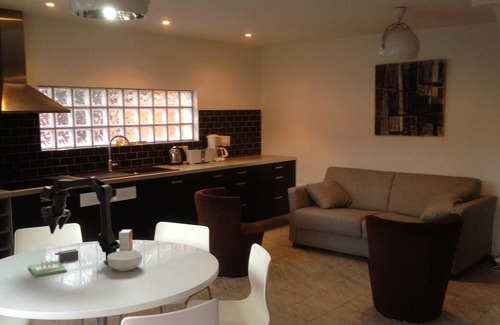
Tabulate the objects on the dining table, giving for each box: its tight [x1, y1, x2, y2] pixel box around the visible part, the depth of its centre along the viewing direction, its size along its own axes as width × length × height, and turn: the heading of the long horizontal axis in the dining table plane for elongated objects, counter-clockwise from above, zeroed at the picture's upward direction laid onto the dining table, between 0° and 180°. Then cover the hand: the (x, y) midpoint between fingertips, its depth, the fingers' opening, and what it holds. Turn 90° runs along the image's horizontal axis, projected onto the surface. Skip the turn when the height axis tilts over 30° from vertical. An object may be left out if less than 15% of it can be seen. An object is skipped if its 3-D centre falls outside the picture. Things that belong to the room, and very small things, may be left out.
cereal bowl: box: [107, 250, 143, 272], centre depth 243 cm, size 17×17×7 cm
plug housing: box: [54, 248, 79, 263], centre depth 259 cm, size 4×11×4 cm, turn 124°
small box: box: [118, 229, 134, 251], centre depth 279 cm, size 8×6×10 cm
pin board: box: [28, 260, 68, 278], centre depth 243 cm, size 18×14×4 cm
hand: (56, 231), depth 262 cm, fingers open, 9 cm apart
